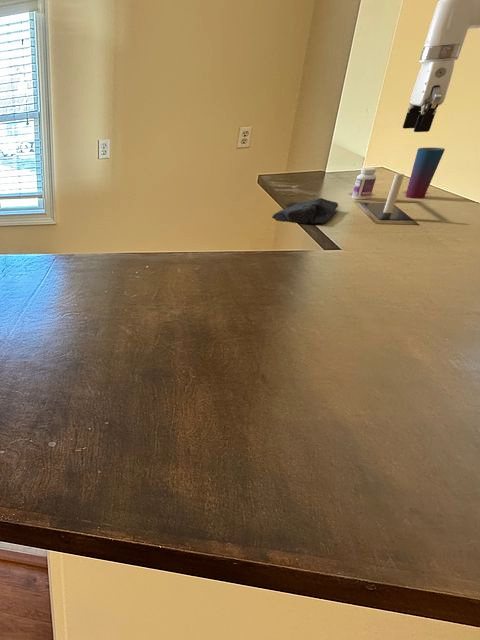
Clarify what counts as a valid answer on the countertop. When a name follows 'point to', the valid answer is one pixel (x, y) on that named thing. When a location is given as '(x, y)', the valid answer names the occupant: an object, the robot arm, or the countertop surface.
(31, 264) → the countertop surface
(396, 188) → the stylus
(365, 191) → the pill bottle
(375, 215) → the tablet
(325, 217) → the dark slate chunk
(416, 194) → the cup
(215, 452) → the countertop surface
